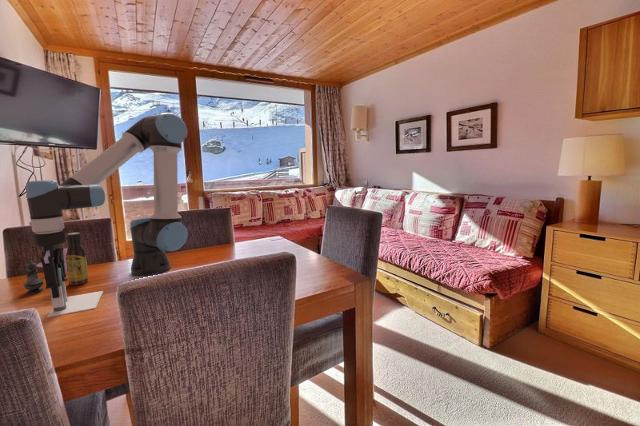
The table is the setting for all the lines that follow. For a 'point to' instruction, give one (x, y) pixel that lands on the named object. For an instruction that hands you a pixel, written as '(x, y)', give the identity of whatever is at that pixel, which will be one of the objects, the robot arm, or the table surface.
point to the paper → (79, 303)
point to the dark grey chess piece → (33, 279)
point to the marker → (62, 292)
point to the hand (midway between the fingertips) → (60, 304)
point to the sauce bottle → (76, 260)
